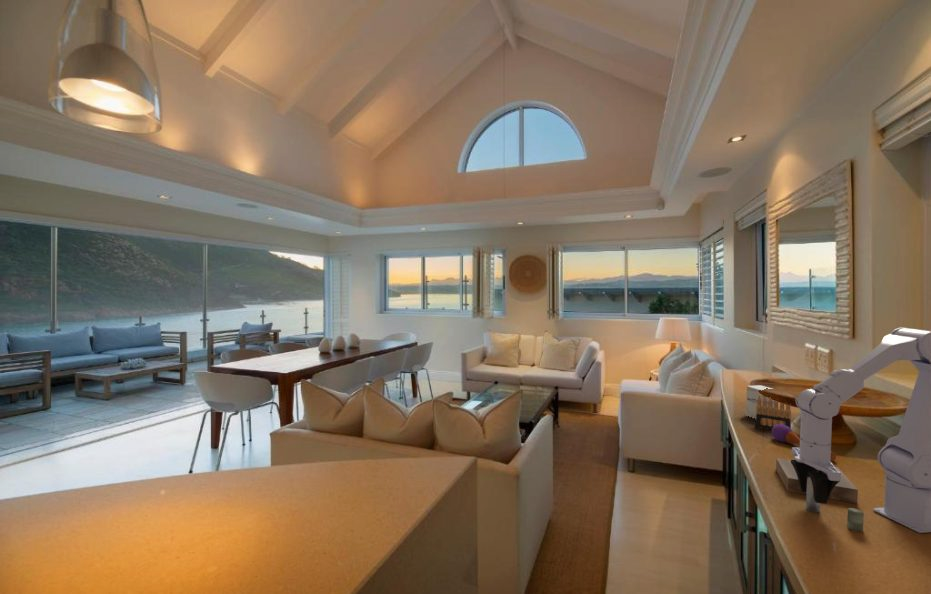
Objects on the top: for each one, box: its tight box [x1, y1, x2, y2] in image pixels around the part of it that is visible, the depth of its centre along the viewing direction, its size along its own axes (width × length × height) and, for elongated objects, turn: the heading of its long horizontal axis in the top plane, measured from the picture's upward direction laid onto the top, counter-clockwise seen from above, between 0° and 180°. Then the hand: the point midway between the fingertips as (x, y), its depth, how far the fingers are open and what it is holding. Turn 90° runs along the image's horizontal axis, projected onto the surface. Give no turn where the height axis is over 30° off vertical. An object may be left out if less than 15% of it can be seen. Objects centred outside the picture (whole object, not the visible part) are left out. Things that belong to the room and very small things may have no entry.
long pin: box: [805, 475, 821, 514], centre depth 101 cm, size 3×3×8 cm
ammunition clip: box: [754, 396, 792, 430], centre depth 158 cm, size 11×2×12 cm, turn 54°
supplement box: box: [745, 385, 775, 420], centre depth 171 cm, size 7×7×13 cm
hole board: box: [775, 457, 859, 504], centre depth 114 cm, size 14×14×4 cm
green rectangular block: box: [846, 507, 865, 533], centre depth 94 cm, size 3×3×4 cm
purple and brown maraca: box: [771, 423, 837, 463], centre depth 139 cm, size 6×6×20 cm
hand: (813, 496), depth 101 cm, fingers open, 5 cm apart
